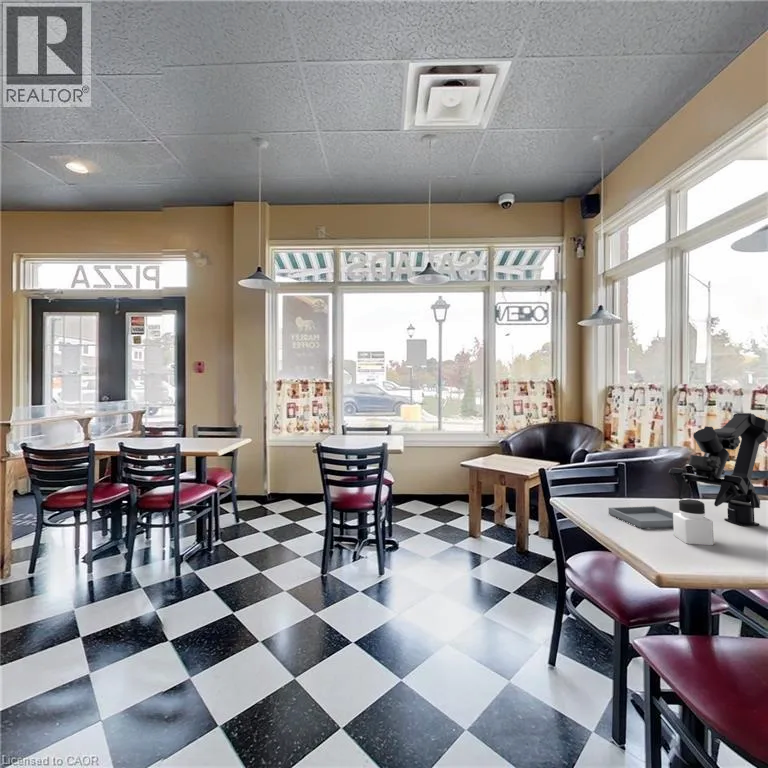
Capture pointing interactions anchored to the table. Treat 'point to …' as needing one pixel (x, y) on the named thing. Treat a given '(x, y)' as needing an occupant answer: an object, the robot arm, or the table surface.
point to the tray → (644, 516)
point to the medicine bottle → (693, 523)
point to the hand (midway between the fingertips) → (697, 501)
